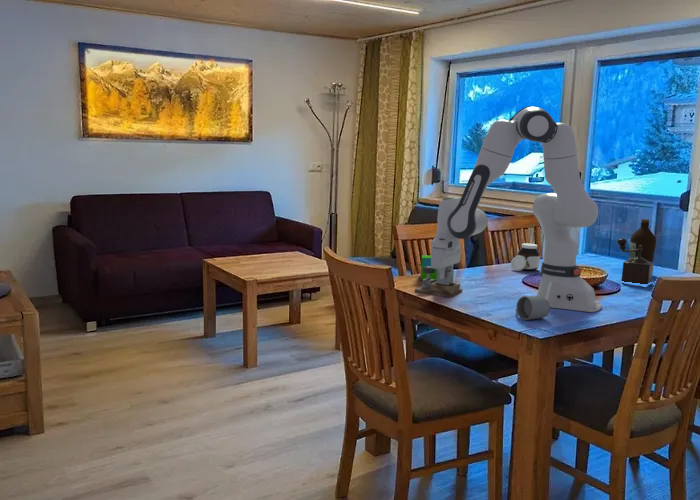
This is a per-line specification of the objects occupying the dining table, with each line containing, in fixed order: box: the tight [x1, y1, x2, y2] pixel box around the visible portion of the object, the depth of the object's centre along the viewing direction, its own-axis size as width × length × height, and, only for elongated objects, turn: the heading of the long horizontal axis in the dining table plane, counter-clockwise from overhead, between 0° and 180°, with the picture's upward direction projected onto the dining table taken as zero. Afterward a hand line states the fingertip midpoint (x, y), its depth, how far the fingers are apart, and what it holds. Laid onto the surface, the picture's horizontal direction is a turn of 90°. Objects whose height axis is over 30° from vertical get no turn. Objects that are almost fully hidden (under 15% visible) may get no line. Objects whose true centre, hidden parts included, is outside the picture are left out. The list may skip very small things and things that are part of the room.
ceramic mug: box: [515, 295, 551, 321], centre depth 208 cm, size 11×8×8 cm
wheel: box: [423, 266, 435, 280], centre depth 241 cm, size 5×5×5 cm
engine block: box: [435, 267, 455, 285], centre depth 237 cm, size 5×4×6 cm
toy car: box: [418, 254, 439, 282], centre depth 261 cm, size 10×13×10 cm
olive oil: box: [628, 218, 657, 262], centre depth 287 cm, size 11×11×25 cm
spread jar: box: [510, 242, 541, 272], centre depth 288 cm, size 12×11×12 cm
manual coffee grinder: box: [617, 238, 655, 284], centre depth 268 cm, size 16×11×18 cm
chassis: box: [414, 278, 463, 298], centre depth 239 cm, size 14×12×4 cm
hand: (445, 277), depth 237 cm, fingers closed on engine block, 4 cm apart
